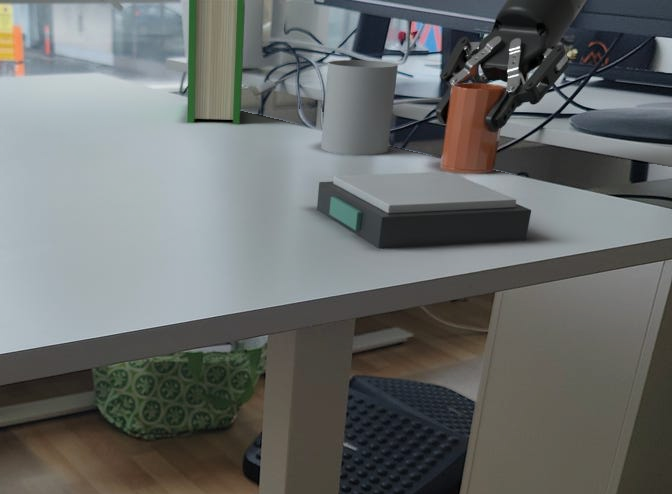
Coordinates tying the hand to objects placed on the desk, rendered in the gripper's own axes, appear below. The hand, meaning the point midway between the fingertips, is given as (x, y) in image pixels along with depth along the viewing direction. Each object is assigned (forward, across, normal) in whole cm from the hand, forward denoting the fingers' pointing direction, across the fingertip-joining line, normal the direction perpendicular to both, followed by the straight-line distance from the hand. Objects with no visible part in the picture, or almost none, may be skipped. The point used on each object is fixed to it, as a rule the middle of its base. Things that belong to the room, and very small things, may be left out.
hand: (464, 122), depth 107 cm
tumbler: (+3, 0, -5) cm, 6 cm away
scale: (+21, -14, +13) cm, 28 cm away
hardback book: (+1, +48, -7) cm, 48 cm away
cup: (+4, +16, -4) cm, 17 cm away
